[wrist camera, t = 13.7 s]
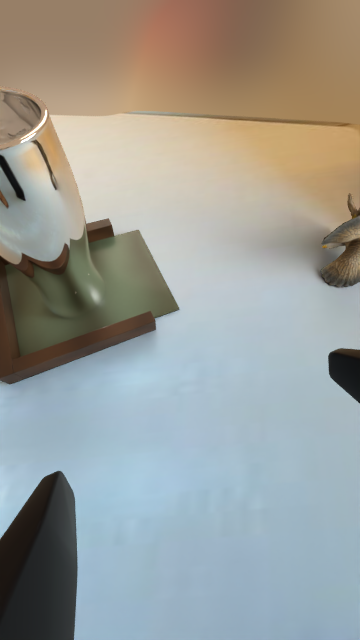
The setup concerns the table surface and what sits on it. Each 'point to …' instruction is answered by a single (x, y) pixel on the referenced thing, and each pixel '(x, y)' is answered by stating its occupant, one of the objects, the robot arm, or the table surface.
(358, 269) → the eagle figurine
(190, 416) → the table surface
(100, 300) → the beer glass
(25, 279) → the dock
